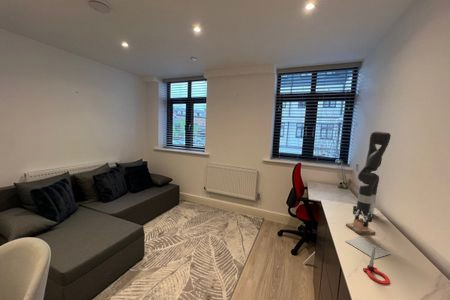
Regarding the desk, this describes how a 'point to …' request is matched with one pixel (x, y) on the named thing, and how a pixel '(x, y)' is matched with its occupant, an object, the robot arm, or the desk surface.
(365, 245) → the grey flat panel
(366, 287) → the desk surface
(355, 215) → the robot arm
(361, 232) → the post stand
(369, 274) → the tow hook
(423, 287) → the desk surface
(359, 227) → the collar
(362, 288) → the desk surface
